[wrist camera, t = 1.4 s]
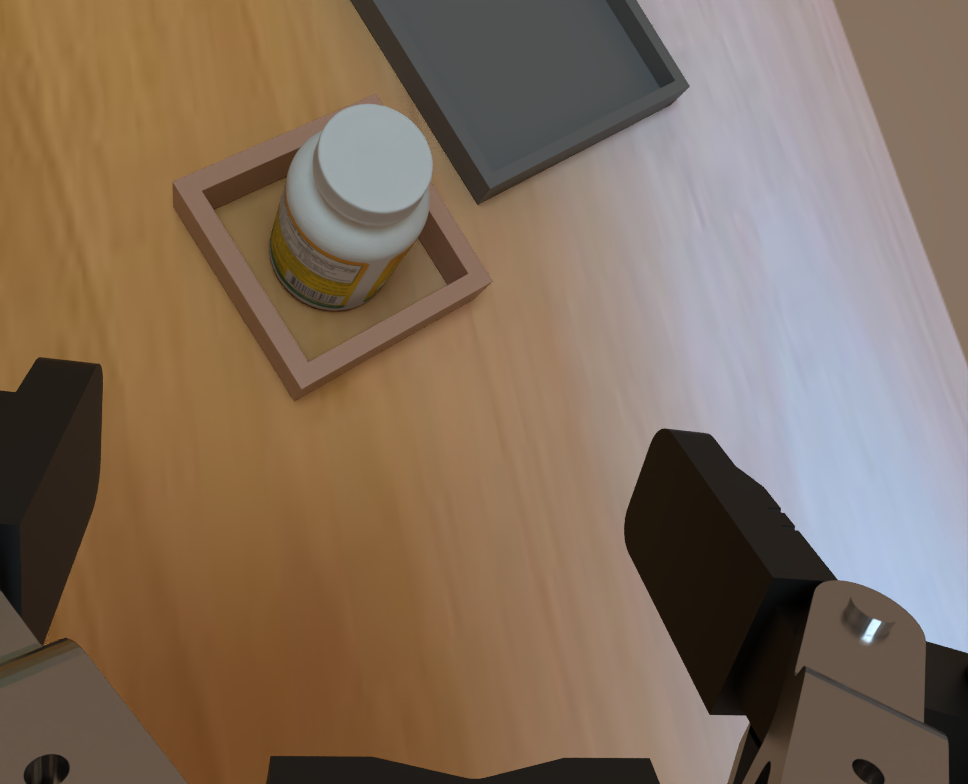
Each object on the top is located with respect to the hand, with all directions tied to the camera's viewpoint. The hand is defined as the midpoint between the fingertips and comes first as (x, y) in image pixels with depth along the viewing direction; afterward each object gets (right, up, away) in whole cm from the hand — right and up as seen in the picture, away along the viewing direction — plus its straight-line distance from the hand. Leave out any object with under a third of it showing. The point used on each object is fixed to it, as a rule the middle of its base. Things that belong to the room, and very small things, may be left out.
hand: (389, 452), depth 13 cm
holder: (-5, +7, +26) cm, 27 cm away
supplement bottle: (-5, +7, +26) cm, 27 cm away
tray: (+1, +21, +31) cm, 37 cm away
